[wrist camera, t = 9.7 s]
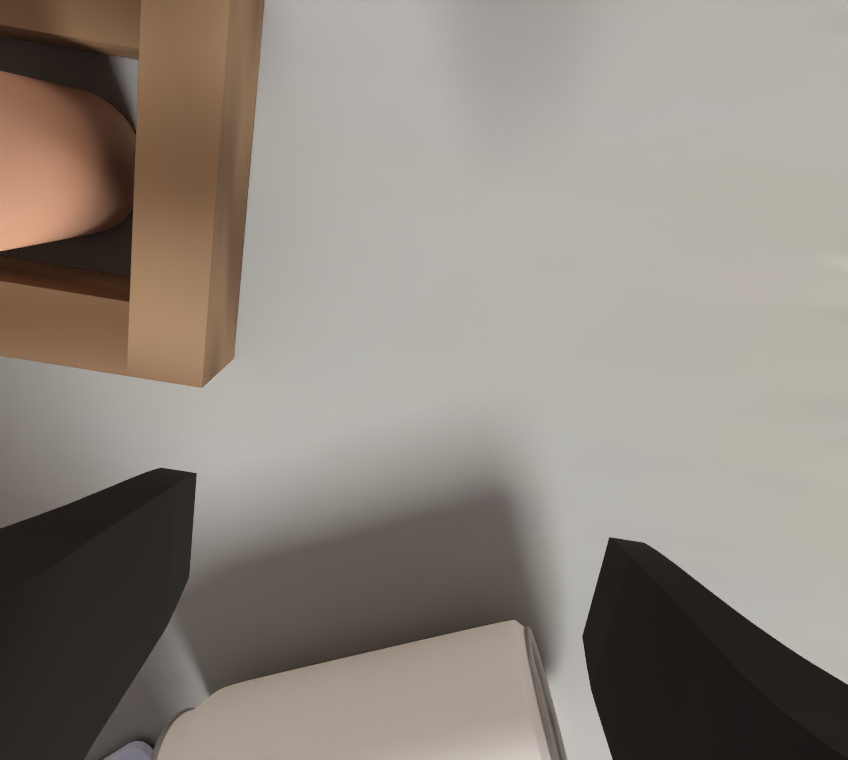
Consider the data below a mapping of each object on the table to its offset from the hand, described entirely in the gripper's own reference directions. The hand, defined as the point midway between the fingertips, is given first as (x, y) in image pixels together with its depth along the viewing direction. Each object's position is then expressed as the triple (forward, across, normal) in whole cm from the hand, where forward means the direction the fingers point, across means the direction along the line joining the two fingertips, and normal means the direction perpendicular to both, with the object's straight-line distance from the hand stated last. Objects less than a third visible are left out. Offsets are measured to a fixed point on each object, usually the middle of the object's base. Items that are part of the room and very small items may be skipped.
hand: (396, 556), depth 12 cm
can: (+7, -6, +9) cm, 13 cm away
